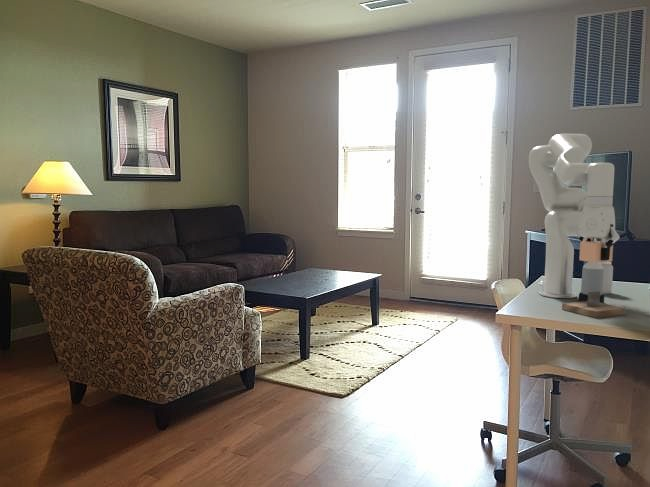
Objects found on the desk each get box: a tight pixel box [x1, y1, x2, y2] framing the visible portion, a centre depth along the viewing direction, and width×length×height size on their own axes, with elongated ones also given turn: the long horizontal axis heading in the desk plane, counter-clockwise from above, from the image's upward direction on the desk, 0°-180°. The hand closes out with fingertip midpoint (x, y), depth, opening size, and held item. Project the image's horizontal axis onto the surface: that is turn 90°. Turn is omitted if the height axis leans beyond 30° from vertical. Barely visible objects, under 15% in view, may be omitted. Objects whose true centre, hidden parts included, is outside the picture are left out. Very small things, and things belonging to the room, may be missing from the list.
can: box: [599, 262, 614, 295], centre depth 212 cm, size 8×8×12 cm
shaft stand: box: [561, 291, 626, 319], centre depth 179 cm, size 13×13×7 cm
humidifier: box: [577, 238, 605, 304], centre depth 193 cm, size 8×8×25 cm
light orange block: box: [578, 240, 614, 263], centre depth 177 cm, size 6×8×7 cm
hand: (595, 258), depth 177 cm, fingers closed on light orange block, 6 cm apart
